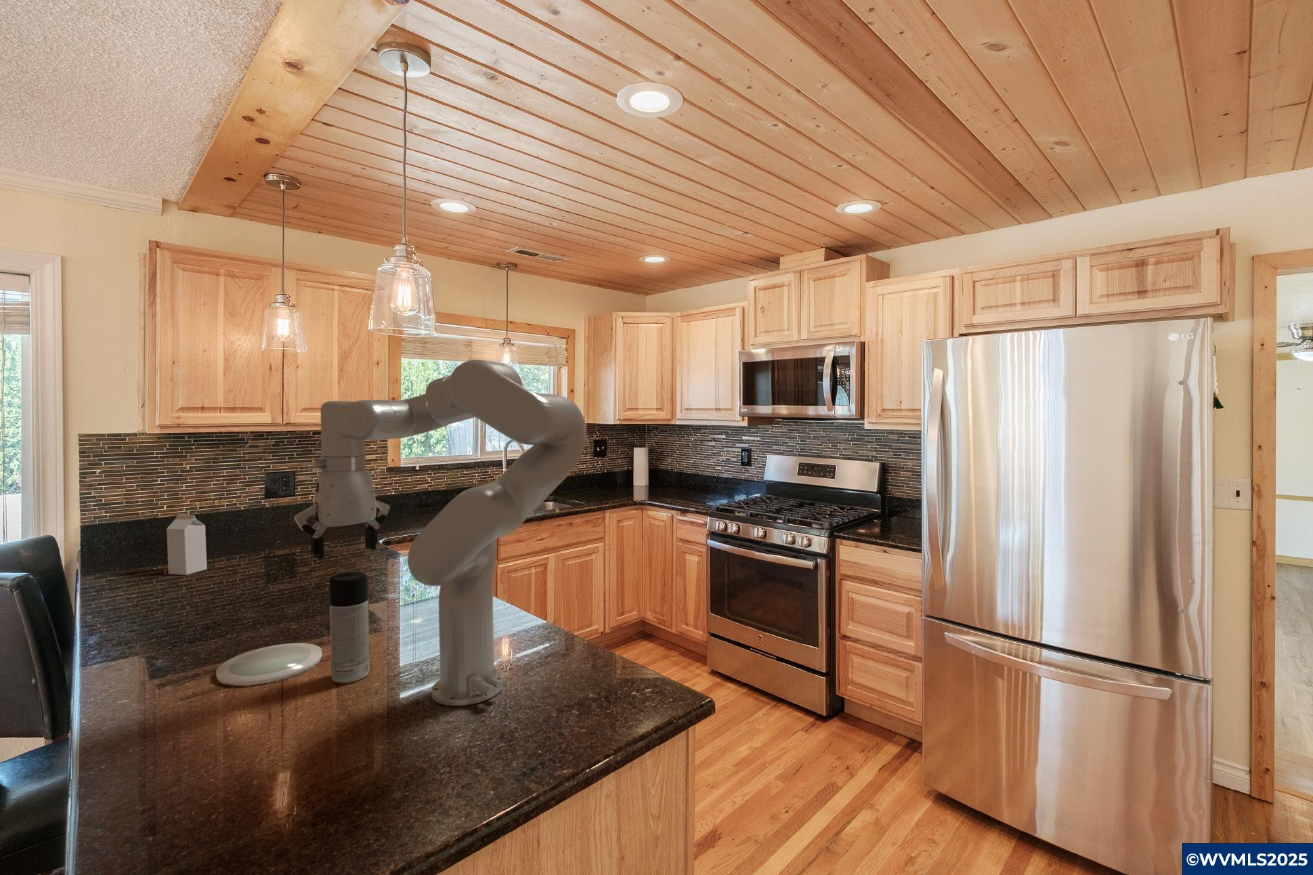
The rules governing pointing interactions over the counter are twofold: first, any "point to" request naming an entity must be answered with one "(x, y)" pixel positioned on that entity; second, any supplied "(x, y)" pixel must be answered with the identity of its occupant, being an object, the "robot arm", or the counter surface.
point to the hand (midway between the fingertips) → (345, 553)
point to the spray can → (349, 627)
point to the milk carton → (186, 545)
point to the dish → (269, 664)
